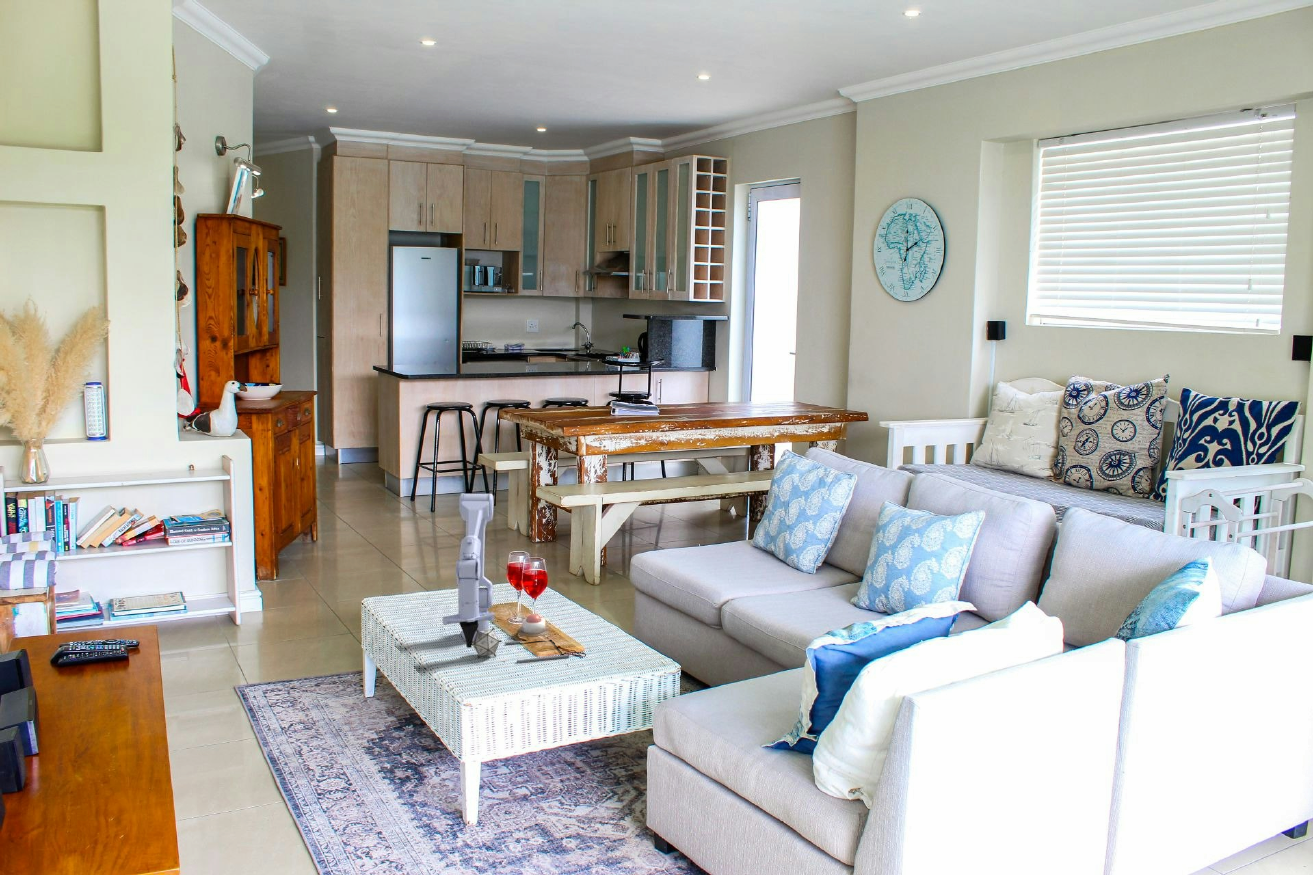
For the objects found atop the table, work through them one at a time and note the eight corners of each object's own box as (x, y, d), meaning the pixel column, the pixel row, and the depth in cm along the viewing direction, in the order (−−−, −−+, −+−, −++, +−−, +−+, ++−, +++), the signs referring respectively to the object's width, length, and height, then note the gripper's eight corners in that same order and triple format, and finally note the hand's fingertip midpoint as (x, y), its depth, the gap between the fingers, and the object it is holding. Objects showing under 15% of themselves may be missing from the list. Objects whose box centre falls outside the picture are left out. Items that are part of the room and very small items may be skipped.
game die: (490, 670, 300) (493, 650, 294) (463, 657, 301) (466, 638, 295) (504, 647, 307) (508, 627, 300) (478, 635, 308) (481, 615, 301)
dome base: (514, 631, 323) (514, 626, 323) (545, 628, 326) (545, 623, 326) (521, 641, 314) (521, 637, 314) (553, 638, 317) (553, 633, 317)
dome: (520, 627, 322) (519, 611, 321) (542, 625, 324) (542, 609, 324) (525, 634, 315) (525, 618, 315) (547, 632, 318) (547, 616, 317)
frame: (505, 644, 312) (505, 642, 312) (554, 639, 317) (554, 637, 317) (517, 663, 296) (517, 661, 296) (568, 657, 301) (568, 655, 301)
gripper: (444, 606, 291) (445, 653, 293) (496, 602, 296) (496, 648, 298) (441, 599, 298) (441, 645, 299) (491, 595, 302) (492, 640, 304)
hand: (468, 646), depth 299 cm, fingers closed
